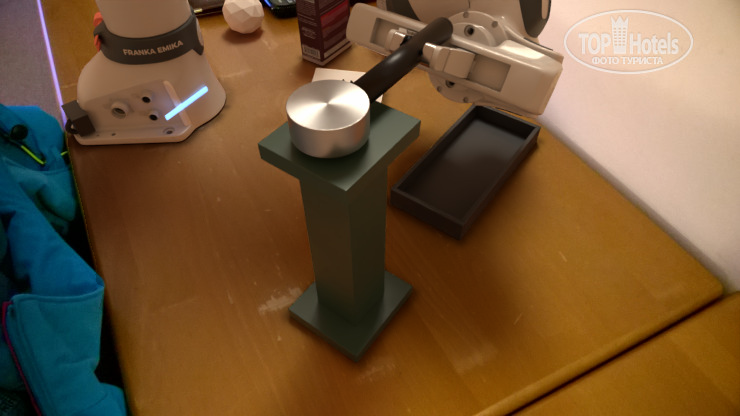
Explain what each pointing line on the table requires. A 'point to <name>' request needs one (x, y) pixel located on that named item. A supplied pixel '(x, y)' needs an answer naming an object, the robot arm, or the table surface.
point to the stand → (347, 231)
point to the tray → (464, 169)
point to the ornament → (243, 15)
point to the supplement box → (323, 28)
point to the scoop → (352, 99)
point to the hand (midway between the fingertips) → (411, 49)
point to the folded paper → (338, 76)
